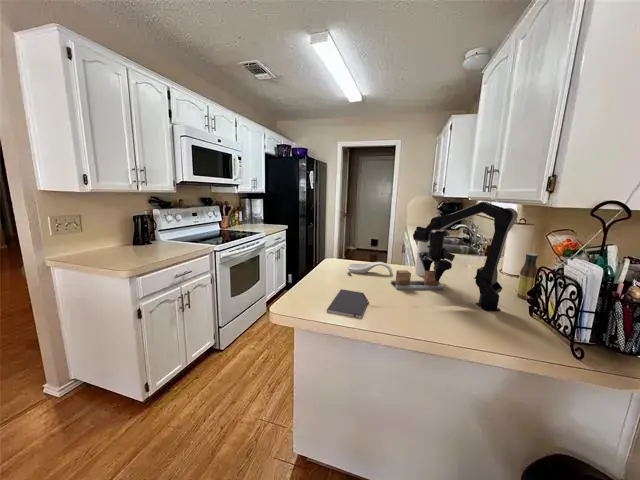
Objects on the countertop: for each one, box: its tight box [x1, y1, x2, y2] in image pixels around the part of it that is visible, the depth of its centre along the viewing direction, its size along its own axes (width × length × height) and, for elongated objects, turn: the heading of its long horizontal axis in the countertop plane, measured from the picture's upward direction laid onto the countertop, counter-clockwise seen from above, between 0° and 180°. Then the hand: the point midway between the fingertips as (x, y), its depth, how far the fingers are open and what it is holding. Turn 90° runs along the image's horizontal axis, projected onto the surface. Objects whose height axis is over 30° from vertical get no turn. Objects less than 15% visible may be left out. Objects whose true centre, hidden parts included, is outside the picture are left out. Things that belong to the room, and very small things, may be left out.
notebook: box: [326, 288, 369, 319], centre depth 108 cm, size 13×2×21 cm
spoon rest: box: [346, 261, 393, 276], centre depth 145 cm, size 24×12×7 cm, turn 76°
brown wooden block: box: [423, 270, 440, 285], centre depth 126 cm, size 3×6×7 cm, turn 96°
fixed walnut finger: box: [395, 269, 412, 285], centre depth 125 cm, size 3×6×7 cm, turn 96°
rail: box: [389, 279, 446, 292], centre depth 126 cm, size 10×22×3 cm, turn 96°
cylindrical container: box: [414, 230, 436, 277], centre depth 143 cm, size 7×7×25 cm
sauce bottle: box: [516, 252, 539, 300], centre depth 121 cm, size 6×6×20 cm
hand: (432, 277), depth 126 cm, fingers open, 9 cm apart
